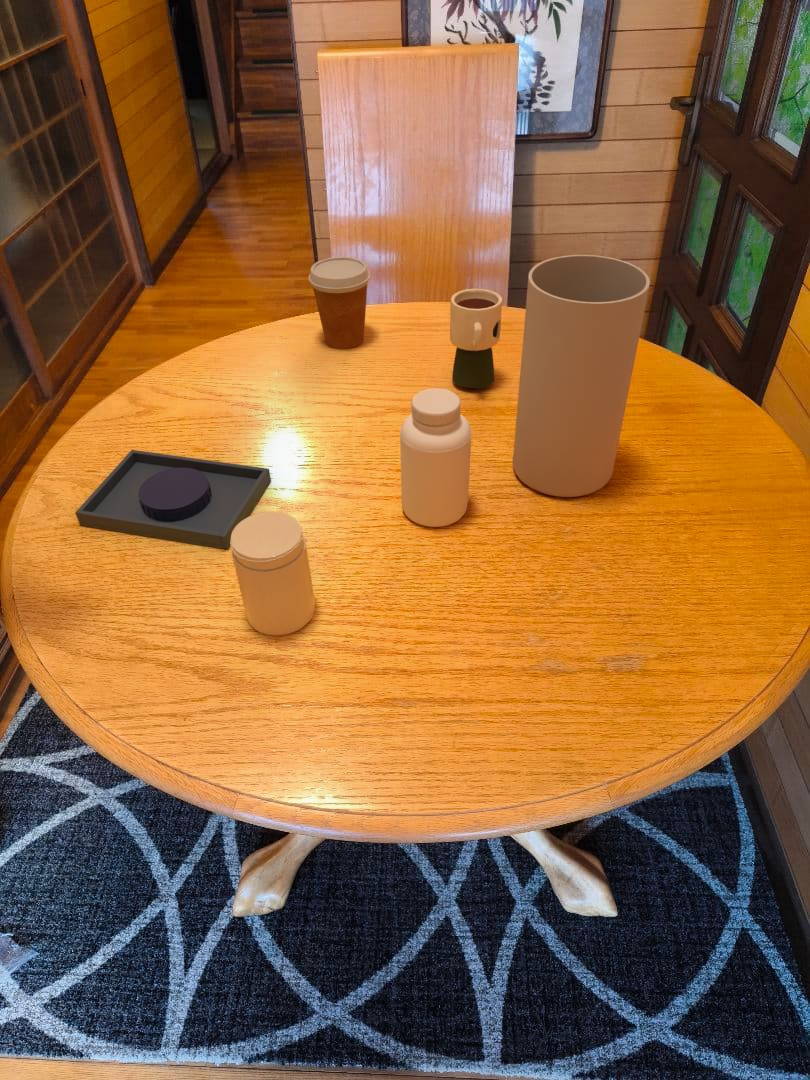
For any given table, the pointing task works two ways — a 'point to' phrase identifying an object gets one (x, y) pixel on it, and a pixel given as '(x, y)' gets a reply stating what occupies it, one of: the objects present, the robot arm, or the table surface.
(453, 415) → the pill bottle
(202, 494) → the lid
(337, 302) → the disposable coffee cup
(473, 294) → the character mug
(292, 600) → the jar
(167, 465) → the tray
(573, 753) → the table surface
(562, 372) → the cylinder vase
